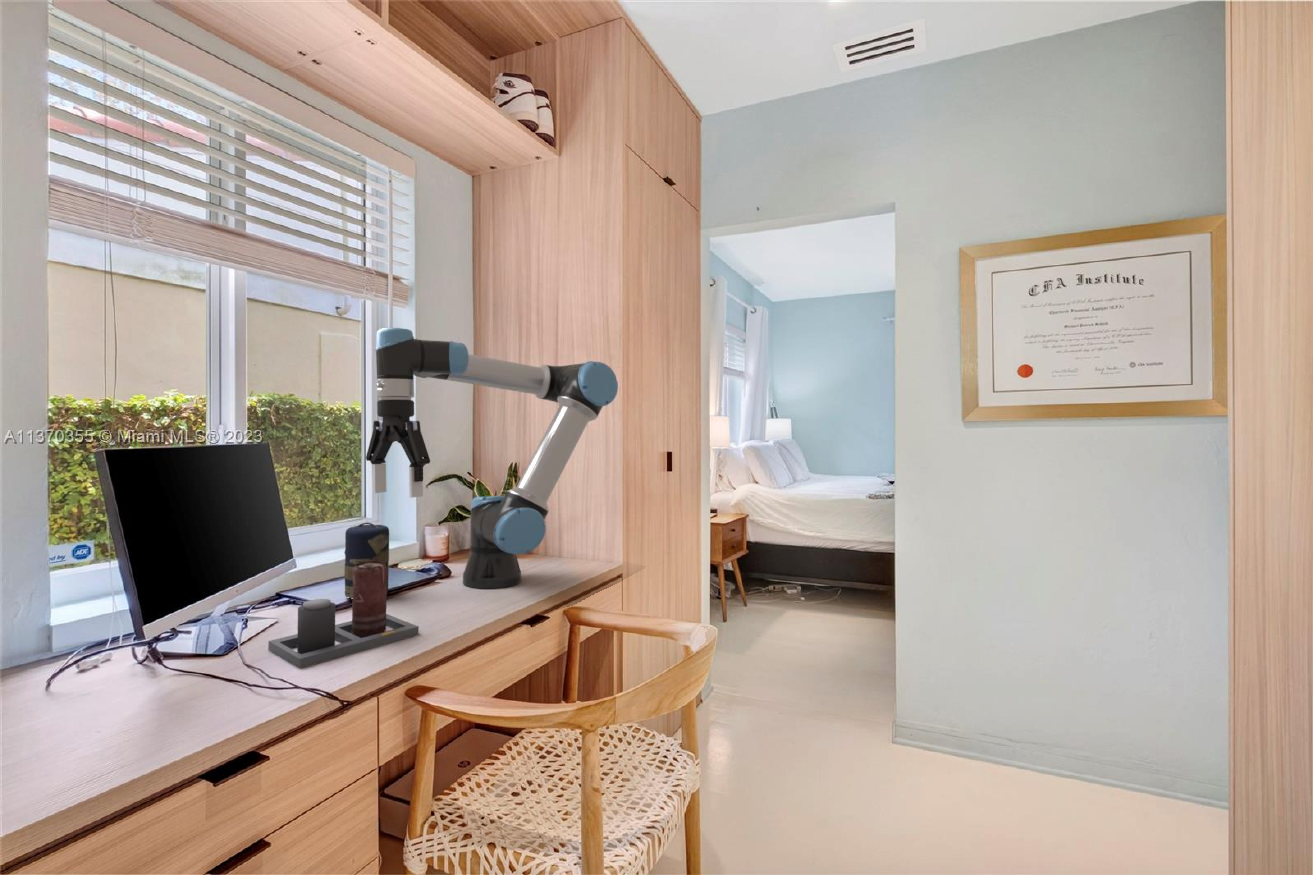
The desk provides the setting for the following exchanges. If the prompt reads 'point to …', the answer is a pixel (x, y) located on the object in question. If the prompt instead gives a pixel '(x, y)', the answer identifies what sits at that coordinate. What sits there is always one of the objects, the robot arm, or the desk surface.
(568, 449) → the robot arm
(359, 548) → the canister
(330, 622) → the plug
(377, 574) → the can
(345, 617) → the desk surface
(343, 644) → the desk organizer tray
